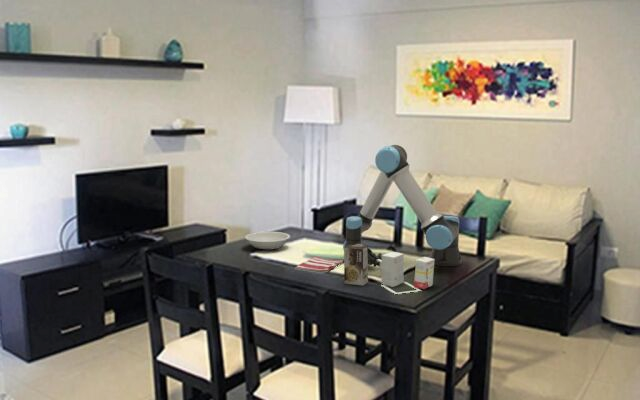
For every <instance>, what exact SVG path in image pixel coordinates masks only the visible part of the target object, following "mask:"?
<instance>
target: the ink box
mask: <svg viewBox="0 0 640 400" xmlns="http://www.w3.org/2000/svg"><path fill="white" fill-rule="evenodd" d="M434 260H435V259H432V258H430V257H427V256H422V257H420V258H417V259H416V260H415V270H414V271H415V272H414V280H413V281H414V282H413V283H414V284H413V286H414V287H416V288H418V289H420V290H425V289H428V288H430V287H432V286H433V284H434V269H435V265H434Z"/></svg>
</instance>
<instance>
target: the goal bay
mask: <svg viewBox="0 0 640 400" xmlns="http://www.w3.org/2000/svg"><path fill="white" fill-rule="evenodd" d="M403 284H405V285H406V286H408V287H410V288H411V289H413V288H414V289H413V290H407V291H400V292H396V291H395V290H393V289H392V288H390V287H389V286H387V285H382V284H380V286H381V287H382V288H383V287H384V289H385V290H387V291H389V293H392V294H393V293H394V294H393V295H395V294H398V295H403V294H402V293H406V294H411V293H410V292H414V293H419V292H418V291H421V292H422V291H423V289H421V288H416V287H414V284H411V283H409V282H407V281H403ZM415 289H416V290H415Z"/></svg>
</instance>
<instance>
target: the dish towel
mask: <svg viewBox="0 0 640 400" xmlns="http://www.w3.org/2000/svg"><path fill="white" fill-rule="evenodd" d="M343 262H344V260H329V259H324V258H321V257H318V256H315V255H314V256H313V257H311V258H310V259H307V260H306V261H304V262H301V263H300V264H298V265H297V266H296V267H294V270H295V271H296V270H297V271H303V272H311V273H319V274H327V273H330V272H331V270H332V271H334V269H335V267H336V266H337V267H339V266H340V265H342V264H344V263H343ZM341 263H342V264H341ZM339 264H340V265H339ZM338 265H339V266H338ZM337 267H336V268H337Z"/></svg>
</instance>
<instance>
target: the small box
mask: <svg viewBox="0 0 640 400" xmlns="http://www.w3.org/2000/svg"><path fill="white" fill-rule="evenodd" d="M381 255H382V268H381V285H382V284H383V285H385V286H386V287H392V288H394V287H396V286H399V285H401V284H404V264H405V262H404V261H405V256H404V255H405V254H404V253H402V252H396V251H390V252H388V253H385V254H381Z"/></svg>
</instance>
